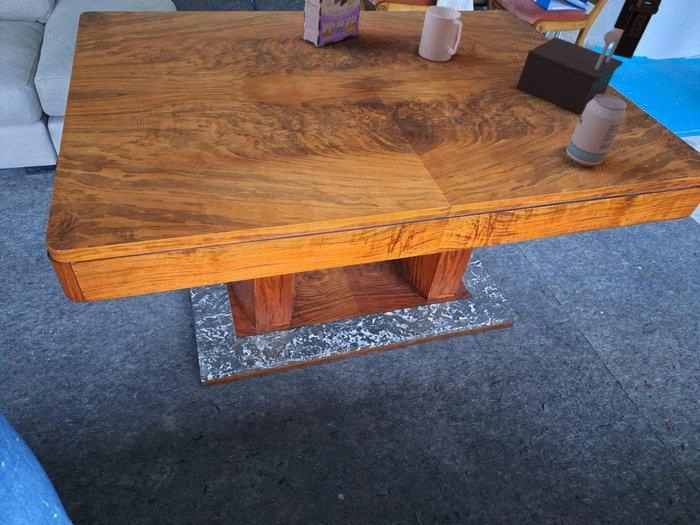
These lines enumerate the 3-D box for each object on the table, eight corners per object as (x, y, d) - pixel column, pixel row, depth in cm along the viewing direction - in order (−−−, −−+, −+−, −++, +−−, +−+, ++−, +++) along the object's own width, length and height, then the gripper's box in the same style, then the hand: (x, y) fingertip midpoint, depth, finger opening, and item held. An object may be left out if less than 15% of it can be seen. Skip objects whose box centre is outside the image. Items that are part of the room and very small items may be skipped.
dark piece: (602, 96, 119) (618, 64, 114) (578, 114, 111) (594, 80, 106) (542, 72, 126) (554, 40, 120) (516, 88, 118) (527, 54, 112)
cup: (440, 69, 121) (449, 26, 114) (412, 49, 128) (419, 7, 121) (466, 65, 124) (478, 22, 117) (438, 45, 131) (447, 4, 124)
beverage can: (572, 145, 101) (598, 88, 93) (605, 159, 99) (635, 102, 90) (558, 158, 97) (584, 100, 89) (593, 173, 94) (623, 115, 86)
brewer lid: (621, 65, 113) (641, 24, 107) (598, 81, 105) (617, 39, 99) (554, 40, 120) (569, 1, 114) (527, 54, 112) (542, 13, 106)
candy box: (342, 28, 134) (348, -42, 122) (358, 36, 131) (365, -35, 119) (302, 39, 126) (304, -35, 114) (317, 47, 123) (321, -28, 112)
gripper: (660, -129, 79) (600, 14, 94) (672, -109, 62) (596, 63, 77) (712, -121, 77) (642, 23, 92) (738, -98, 60) (648, 75, 75)
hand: (621, 42), depth 84 cm, fingers open, 13 cm apart
